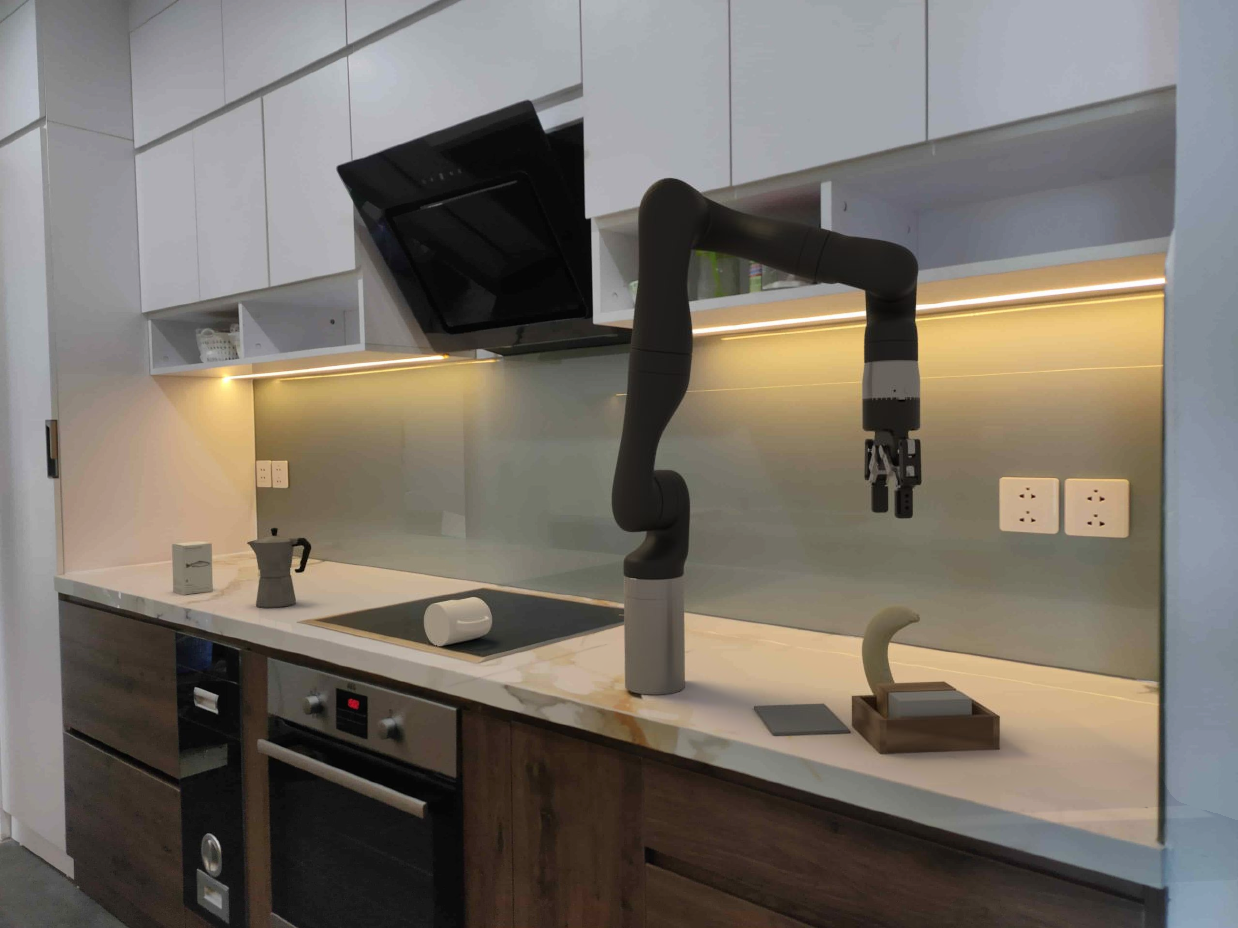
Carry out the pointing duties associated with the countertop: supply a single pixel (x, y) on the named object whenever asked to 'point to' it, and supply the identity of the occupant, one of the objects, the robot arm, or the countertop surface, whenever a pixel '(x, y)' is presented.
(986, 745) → the wooden tray
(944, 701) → the offcut grey
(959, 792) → the countertop surface
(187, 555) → the supplement box
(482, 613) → the mug
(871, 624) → the fruit
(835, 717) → the mat
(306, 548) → the coffeepot
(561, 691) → the countertop surface
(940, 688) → the offcut teak
